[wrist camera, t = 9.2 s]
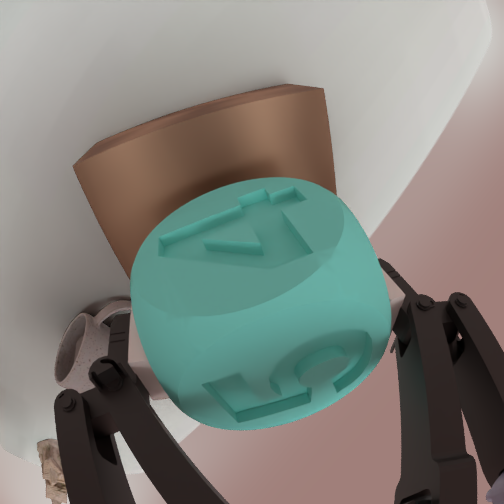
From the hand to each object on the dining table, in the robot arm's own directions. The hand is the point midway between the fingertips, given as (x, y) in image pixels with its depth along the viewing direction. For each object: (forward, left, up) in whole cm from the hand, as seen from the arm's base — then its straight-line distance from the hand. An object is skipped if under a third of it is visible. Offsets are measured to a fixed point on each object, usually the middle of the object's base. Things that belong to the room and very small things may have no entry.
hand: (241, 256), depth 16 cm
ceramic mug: (-13, -12, -9) cm, 19 cm away
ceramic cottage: (-41, -49, -9) cm, 65 cm away
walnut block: (0, 0, -9) cm, 9 cm away
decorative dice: (0, 0, -1) cm, 1 cm away
